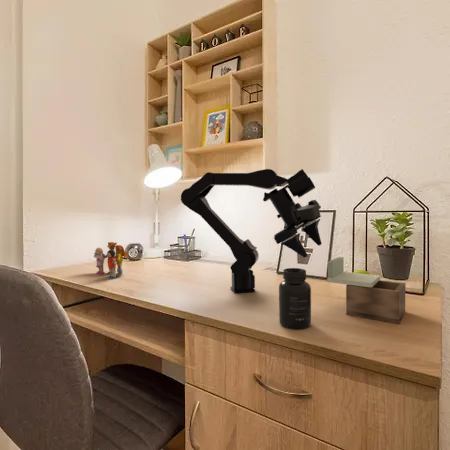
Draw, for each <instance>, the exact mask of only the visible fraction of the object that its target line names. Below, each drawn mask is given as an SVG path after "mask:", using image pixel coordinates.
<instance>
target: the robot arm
mask: <svg viewBox="0 0 450 450" xmlns="http://www.w3.org/2000/svg"><path fill="white" fill-rule="evenodd" d="M215 186H236V187H237V186H248V187H254V188H258V189H264V190H267V191H268V190H271V191H270V192H264V194H263V199H262V201H263V202H268V201H269V200H270V202H271V203H272V205H273V207H274V208H275V210H276V212H277V215H276V217H277V219H281V220H282V221H283V223H284V225H285V226H284V227H283V229H281V230H280V231H278V232H277V233H275V234H274V235H273V236H274V237H273V239H274V241H275V243H276V244H277V245H279V244H280V246H285V247H287V248H288V249H290V250H292V251H293V252H295V253H296V254H298V255H300V256H301V257H302V258H307V257H308V253H307V252H306V250H305V248H304V245H303V244H302V242H301V240H300V236H301V232H298V230H300V229H301V230H302V231H303V232H304V233H305V234H306V235H307V236H308V237H309V239H311V240H312V242H314V243H315V244H316V245H317V246H322V240H321V235H320V233H319V227H318V225H319V222H320V221H321V219H320V218H321V217H322V216H321V213H320V209H321V208H322V205H320V203H319V202H318V201H317V200H316V199H312V200H309V201H308V203H307V204H305V205H303V206H302V205H301V203H299V202H297V203H296V202H295V201H294V199H293V198H295V197H297V198H298V199H300V198H301V197H303V196H305V195H306V194H308V193H309V192H311V191H313V190H315V189H316V185H315V184H314V182H313V181H312V179H311V177H310V176H309V175H308V174H307V173H306V172H305V171H304V169H303V168H301V169H300V170H298V171H297V172H296V173H295V174H293V175H292V176H290V177H288V178H286V177H284V176H280V175H277V172H275V171H274V170H273V169H270V168H265V169H259V170H255V171H252V172H251V171H250V172H211V171H208V172H206V173H204V175H203V176H201V178H199V179H198V180H197V181H195V182H194V183H193V184H192V185H190V186H189V188H188V187H187V188H186V189H184V190H183V191H182V192H181V194H180V201H181V203H182V204H183V206H184V207H185V206H186V208H188V209H189V210H190V211H192V212H194V213H196V214H197V215H199V216H200V217H201V218H202V219H203V220H204V221H205V223H207V225H208V226H209V227H210V228H211V229H212V230H213V231H214V232H215V233H216V234H217V236H219V238H220V239H222V241H223V242H225V244H227V245H226V246H228V248H229V249H230V251H231V253H232V255H233V257H234V258H235V261H234V262H233V263H232V264H231V265H230V267H229V268H230V270H231V286H230V290H231V291H233V292H234V293H235V294H240V293H252V292H253V293H254V292H256V289H255V288H256V283H255V282H256V278H255V277H256V276H255V274H254V270H252V268H253V266H255V264H256V263H257V262H258V260H259V252H258V250H257V249H258V247H257V246H255V245H253V244H252V241H251V240H250V239H249V238H247V239H246V240H243V239H241V238H240V237H239V236H238V235H237V234H236V233H235V232H234V230H232V229H231V227H229V225H228V224H227V223H226V222H225V221H224V220H223V219H222V218H221V217H220V216H219V215H218V214H217V212H215V211H214V210H213V209H212V207H211V206H210V203H209V202H208V200H207V196H208V194H210V192H211V191H212V189H213V188H214V187H215ZM276 187H281V188H280V189H278V188H276ZM287 189H288V190H287ZM288 191H289V192H290V193H291V195H290V193H289V192H288Z"/></svg>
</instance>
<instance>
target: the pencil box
mask: <svg viewBox="0 0 450 450" xmlns="http://www.w3.org/2000/svg"><path fill="white" fill-rule="evenodd" d="M345 285H346V286H345V296H346V298H345V300H346V301H345V305H346V306H345V315H347V316H352V317H353V316H354V317H357V318H358V317H359V318H364V319H369V320H375V321H380V322H384V323H385V322H386V323H390V324H395V325H401V321H402V320H403V318H404V315H405V313H406V283H405V282H401V281H400V282H398V281H391V280H383V279H382V280H381V279H380V280H379V281H378V282H377V283H376V284H375V285H374V286H373V287H372V288H371V287H363V286H355V285H347V284H345Z"/></svg>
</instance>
